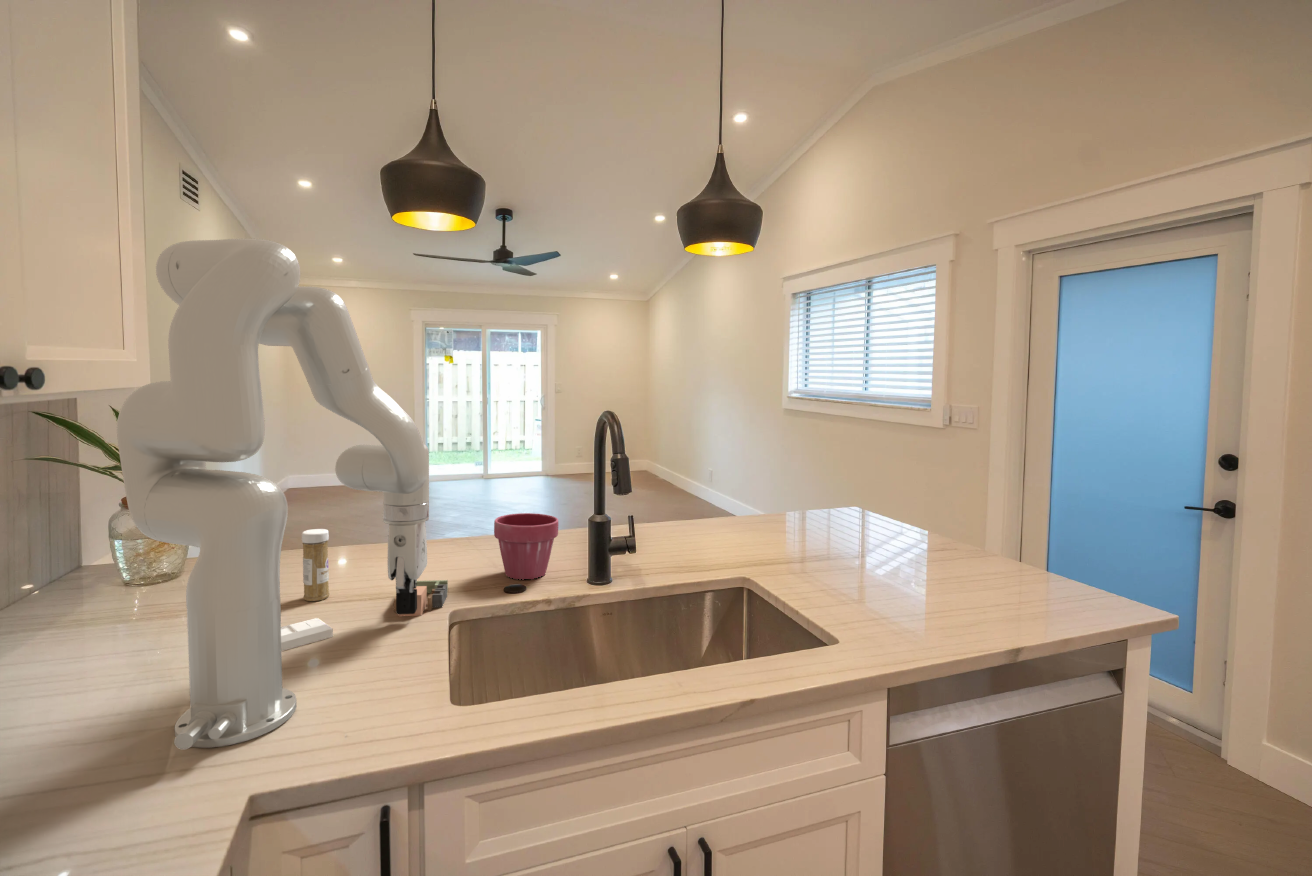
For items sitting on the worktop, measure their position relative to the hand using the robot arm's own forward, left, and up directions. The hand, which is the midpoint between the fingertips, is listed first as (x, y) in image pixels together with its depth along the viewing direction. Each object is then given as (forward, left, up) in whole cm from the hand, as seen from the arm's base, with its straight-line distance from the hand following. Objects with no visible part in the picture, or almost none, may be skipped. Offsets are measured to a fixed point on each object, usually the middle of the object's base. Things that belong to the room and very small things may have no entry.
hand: (406, 612), depth 108 cm
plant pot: (+26, -20, -2) cm, 33 cm away
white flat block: (-6, +16, -2) cm, 17 cm away
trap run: (+10, 0, -2) cm, 10 cm away
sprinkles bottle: (+14, +20, -2) cm, 24 cm away
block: (+5, 0, -2) cm, 6 cm away
